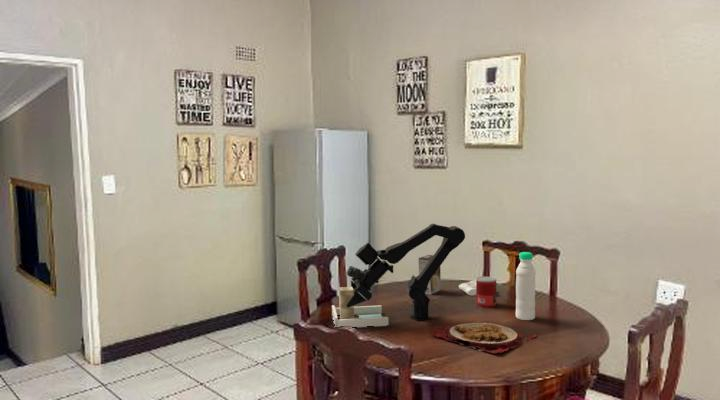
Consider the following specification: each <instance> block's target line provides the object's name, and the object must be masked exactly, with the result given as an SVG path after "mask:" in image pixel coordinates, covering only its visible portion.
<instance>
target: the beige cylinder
mask: <svg viewBox="0 0 720 400" xmlns="http://www.w3.org/2000/svg"><path fill="white" fill-rule="evenodd" d="M353 295H354V290H353V288H352V287H351V286H341V287H338V297H339V298H338V300H339V301H338V303H339V306H338V308H340V316H339V320H340V319H355V315H354V307H355V305H354V306H351V307H349V308H348V307H347V306H346V305H347V304H348V302H349V301H350V299H351V298H352V296H353Z"/></svg>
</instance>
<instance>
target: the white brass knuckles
mask: <svg viewBox="0 0 720 400" xmlns="http://www.w3.org/2000/svg"><path fill="white" fill-rule="evenodd" d="M458 288H459V290H461V291H463V292H464V293H466V294H467V295H468V296H470V297H471V296H476V279H475V280H470V281H469V282H463V283H460V284H459V285H458Z"/></svg>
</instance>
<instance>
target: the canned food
mask: <svg viewBox="0 0 720 400" xmlns="http://www.w3.org/2000/svg"><path fill="white" fill-rule="evenodd" d="M475 280H476V295H475V297H476V298H475V299H476V300H475V301H476V302H475V303H476V305H477V307H478V306H479V307H483V308H493V307H494V308H495V306H496V305H497V278H495V277H494V276H493V277H492V276H478V277H476V279H475Z"/></svg>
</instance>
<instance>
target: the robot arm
mask: <svg viewBox="0 0 720 400" xmlns="http://www.w3.org/2000/svg"><path fill="white" fill-rule="evenodd" d="M435 236H436V237H437V236H438V237H441V238H442V242H441V244H440V246H439V247H438V249H437V250H436V251H435V253H434V254H432V255H433V257H432V258H431V260H430V261H429V262H428V264H427V265H426V267H425V268H424V269H423V271H422V272H421V274H420V275H419V274H418V275H417V276H415V275H413V274H412V275H411V278H410V280H409V281H407V282H406V284H407V286H406V292H407V294H408V297H409V298H410V299H412V303H411V304H412V309H411V310H412V313H411V314H409V315H408V317H409V318H411V319H414V321H415V320H416V321H418V322H419V321H425V320H430V319H433V317H432V316H431V315H429V304H430V301H431V299H430V297H429V296H428V294H426V293H425V292H426V290H427V287H428V283H429V281H430V279H431V278H432V277H433V275H434V274H435V273H436V271H437V270H438V268H439V267H440V268H441V265H442V264H443V263H444V261H446V259H447V258H448V256H449V255H450V253H451V252H452V251H454V250H455V249H456V248H458V247H459V245H461V244H462V243H463V242H464V241H465V238H466V233H465V231H464V230H463V228H462V229H461V228H460V227H458V226H454V225H452V226H451V225H450V227H449V226H445V225H439V224H436V223H431V224H429V225H427V226H426V228H423V229H422V230H420V231H418V232H417V233H415V234H414V235H412V236H410V237H408V238H407V239H406V240H404V241H402V242H398V243H394V244H392V245H390V246H387V247H386V248H385V249H381V250H376V249H375V247H373V246H372V244H371V243H370V242H367V243H365V244H364V245H363V246H360V247H359V248H358V250H357V251H356V253H355V256H356V257H357V258H358V259H359V260H360V261H361V262H362V263H363V264H364V265H366V266H367V265H369V268H368V269H367V268H366V269H364V270H362V269H360V268H357V267H354V266H352V265H349V267H348V269H347V271H346V275H347V276H348V277H349V278H350V279H351V280H350V287H352V288H353V290H354V295H353V296H352V298H351V299H350V301H349V302H348V304H347V305H346V306H347V307H348V308H349V307H351V306H354V307H355V306H356V305H359V304H361V303H363V302H367V301H368V302H369V301H370V300H371V299H372V298H373V293H372V292H371V291H372V288H373V286H375V285H376V284H379V282H380V279H381V278H383V276H384V275H385V274H386V273H387V272H388V271H389V272H390V273H391V274H394V265H395V264H398V263H399V262H401V261H402V259H404V257H406V255H407V254H408V253H409V252H410V251H412V250H414V249H416V248H417V247H418V246H420V245H422V244H423V243H425V242H427V241H428V240H430V239H432V238H433V237H435Z"/></svg>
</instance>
